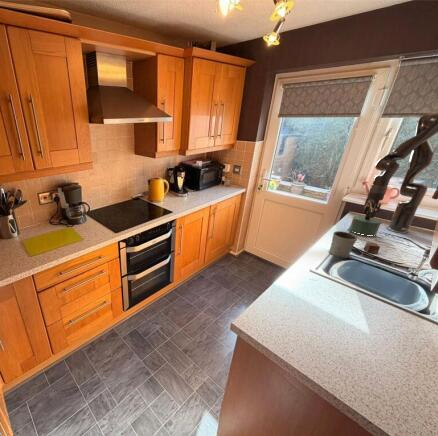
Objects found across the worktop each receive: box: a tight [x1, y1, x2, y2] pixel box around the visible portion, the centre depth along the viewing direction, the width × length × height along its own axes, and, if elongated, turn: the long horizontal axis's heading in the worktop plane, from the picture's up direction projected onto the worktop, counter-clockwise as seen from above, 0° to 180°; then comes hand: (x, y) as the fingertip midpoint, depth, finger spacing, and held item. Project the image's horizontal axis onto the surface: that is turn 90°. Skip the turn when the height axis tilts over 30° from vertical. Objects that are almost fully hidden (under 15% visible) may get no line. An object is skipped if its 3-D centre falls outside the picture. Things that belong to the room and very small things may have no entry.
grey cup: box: [329, 230, 358, 259], centre depth 128 cm, size 10×10×12 cm
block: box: [363, 241, 381, 255], centre depth 132 cm, size 5×5×5 cm
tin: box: [348, 218, 381, 238], centre depth 155 cm, size 14×14×10 cm
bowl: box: [352, 210, 383, 225], centre depth 152 cm, size 15×15×7 cm
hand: (368, 215), depth 152 cm, fingers open, 8 cm apart
